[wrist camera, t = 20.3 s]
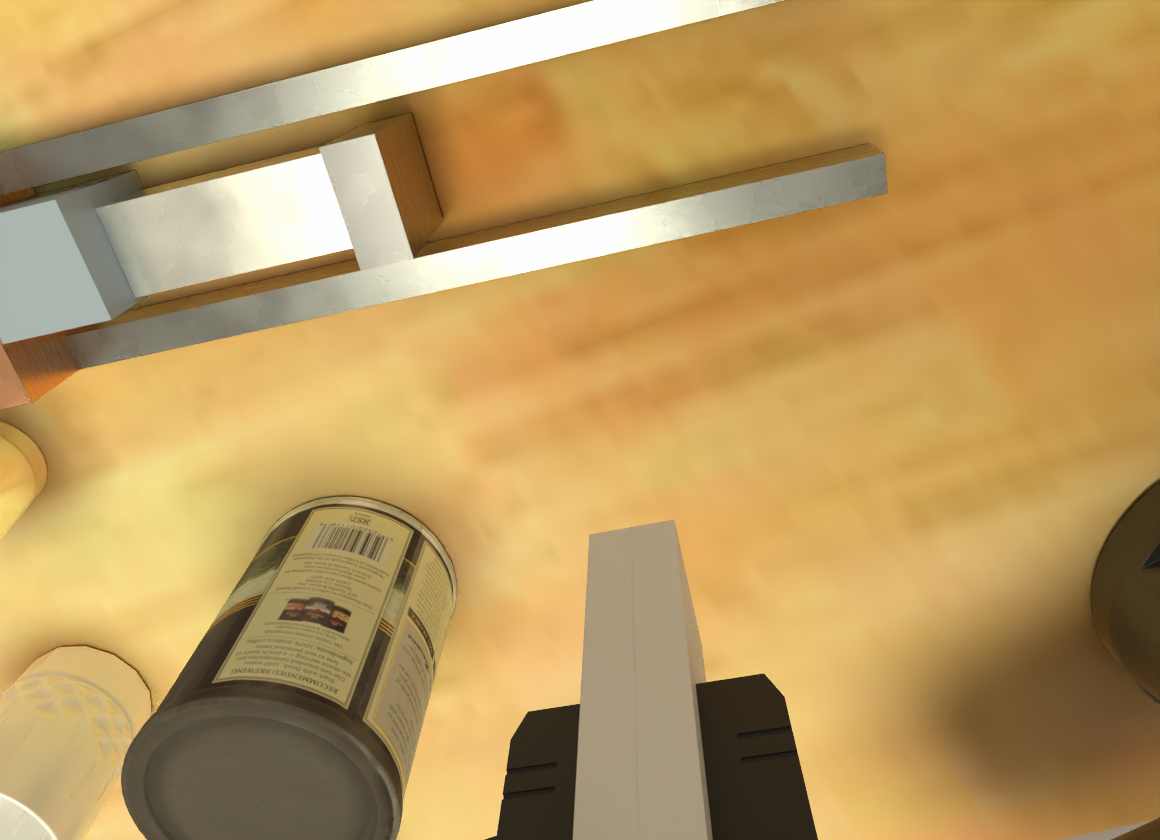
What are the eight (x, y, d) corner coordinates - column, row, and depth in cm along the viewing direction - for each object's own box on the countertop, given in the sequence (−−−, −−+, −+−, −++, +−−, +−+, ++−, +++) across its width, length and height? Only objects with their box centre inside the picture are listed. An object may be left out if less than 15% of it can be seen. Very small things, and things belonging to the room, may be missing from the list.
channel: (847, -65, 33) (892, -76, 28) (871, 180, 37) (914, 213, 31) (-71, 170, 38) (-186, 200, 33) (30, 366, 42) (-58, 421, 36)
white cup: (11, 625, 48) (-130, 771, 39) (159, 645, 48) (54, 795, 39) (29, 736, 52) (-97, 894, 43) (167, 754, 52) (72, 915, 43)
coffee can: (299, 675, 49) (186, 916, 36) (227, 513, 45) (70, 721, 32) (483, 646, 48) (433, 886, 35) (426, 477, 43) (346, 679, 31)
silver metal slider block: (411, 112, 36) (374, 134, 31) (443, 220, 38) (413, 259, 32) (136, 180, 38) (54, 211, 32) (178, 281, 39) (108, 327, 34)
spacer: (136, 169, 38) (55, 199, 32) (181, 274, 40) (111, 319, 34) (37, 194, 38) (-59, 227, 33) (86, 296, 40) (2, 344, 35)
